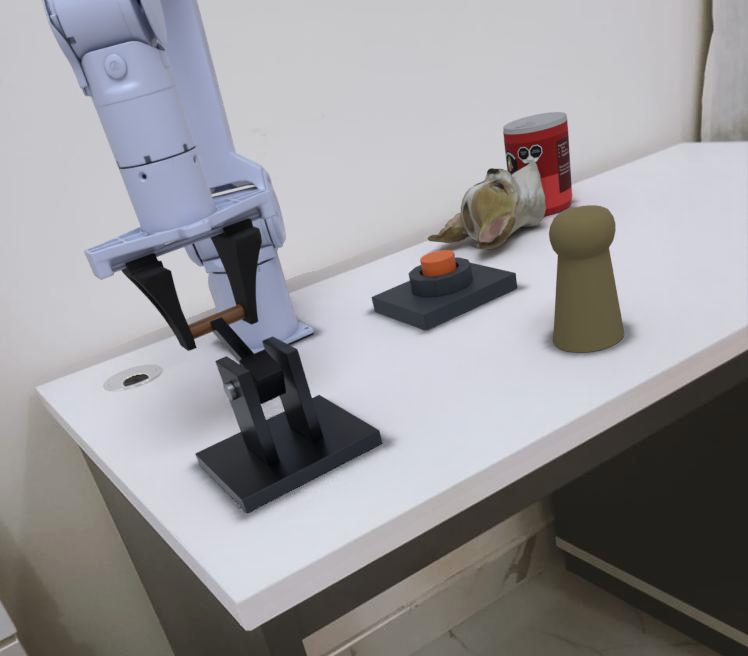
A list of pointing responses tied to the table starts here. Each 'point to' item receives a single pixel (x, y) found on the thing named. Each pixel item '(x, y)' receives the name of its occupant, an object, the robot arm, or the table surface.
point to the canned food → (542, 154)
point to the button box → (443, 294)
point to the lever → (244, 352)
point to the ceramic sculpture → (497, 208)
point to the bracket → (281, 434)
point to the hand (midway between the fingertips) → (219, 333)
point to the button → (438, 263)
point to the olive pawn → (585, 280)
